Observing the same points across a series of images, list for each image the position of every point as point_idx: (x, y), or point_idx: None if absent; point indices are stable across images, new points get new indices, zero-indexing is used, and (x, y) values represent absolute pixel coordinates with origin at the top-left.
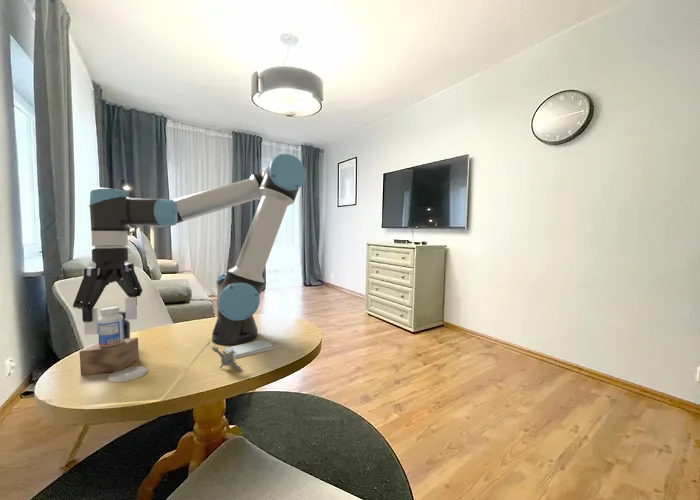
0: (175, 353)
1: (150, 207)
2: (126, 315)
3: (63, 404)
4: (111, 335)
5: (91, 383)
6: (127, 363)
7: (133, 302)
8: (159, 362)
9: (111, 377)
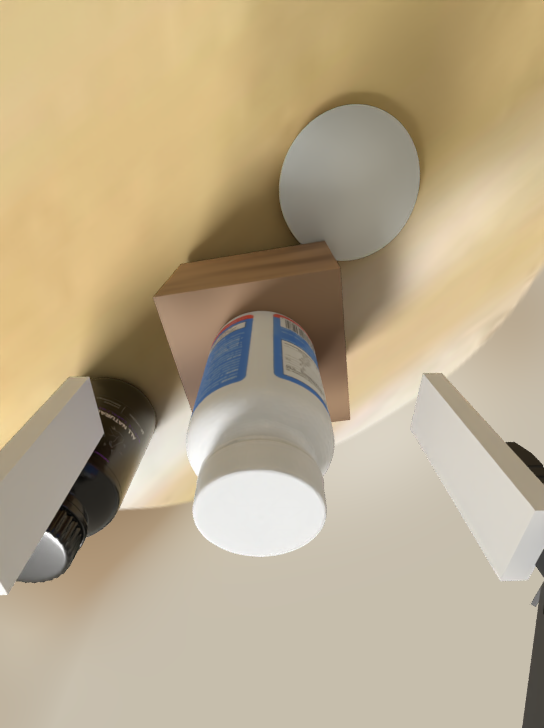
0: (71, 121)
1: None
2: (91, 447)
3: (537, 259)
4: (310, 355)
5: (393, 288)
6: (273, 251)
7: (13, 481)
8: (197, 137)
9: (385, 232)
